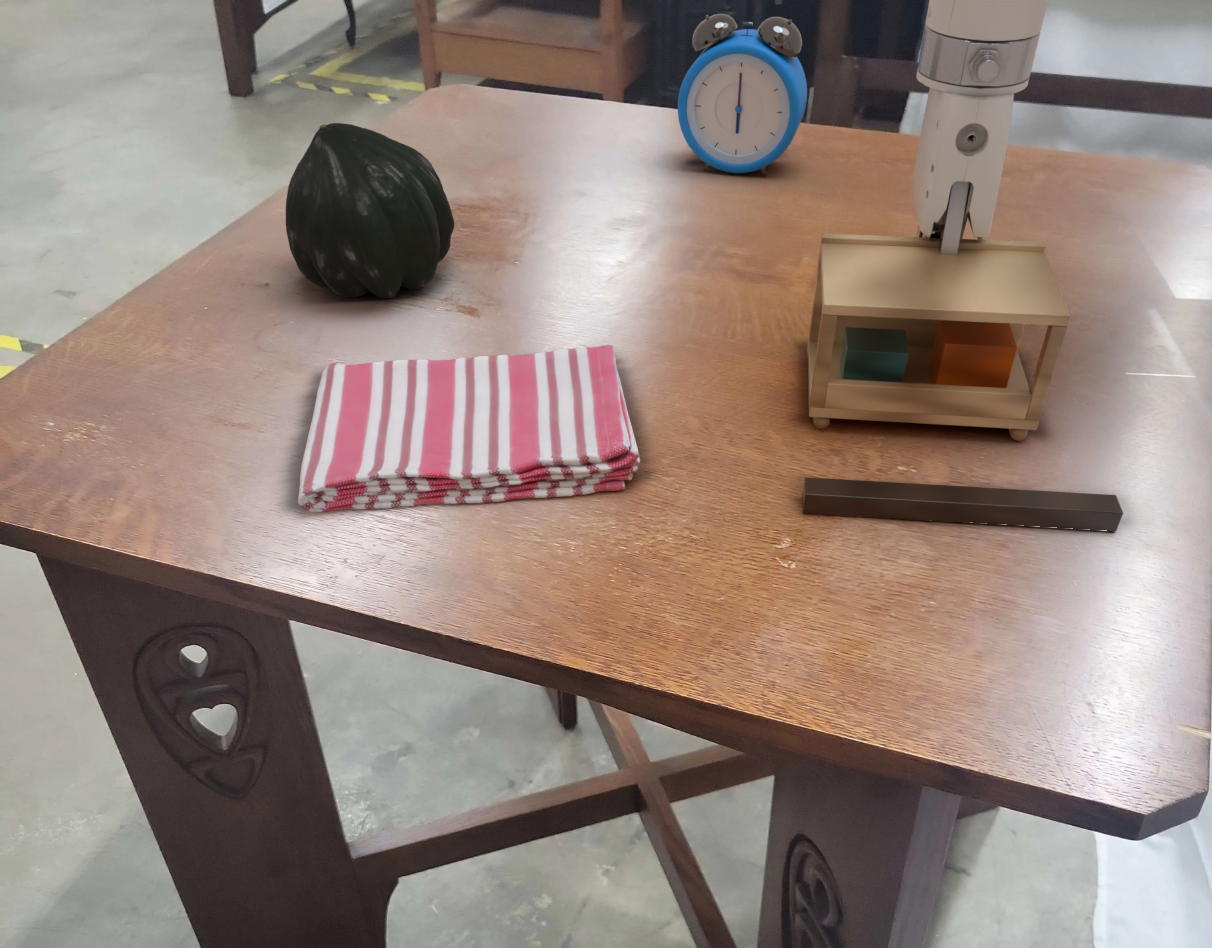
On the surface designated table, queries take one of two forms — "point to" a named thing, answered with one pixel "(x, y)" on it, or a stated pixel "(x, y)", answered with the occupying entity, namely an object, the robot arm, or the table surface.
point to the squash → (366, 213)
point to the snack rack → (931, 332)
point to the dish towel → (468, 431)
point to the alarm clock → (743, 93)
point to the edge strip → (961, 504)
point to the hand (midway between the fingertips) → (924, 306)
